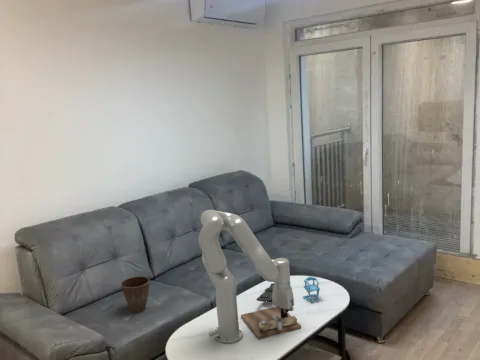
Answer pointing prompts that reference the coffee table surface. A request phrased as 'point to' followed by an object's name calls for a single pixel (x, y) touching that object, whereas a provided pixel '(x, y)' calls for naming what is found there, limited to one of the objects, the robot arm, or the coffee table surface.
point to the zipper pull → (266, 294)
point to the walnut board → (266, 314)
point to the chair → (311, 289)
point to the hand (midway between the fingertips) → (284, 319)
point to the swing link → (273, 324)
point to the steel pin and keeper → (278, 322)
